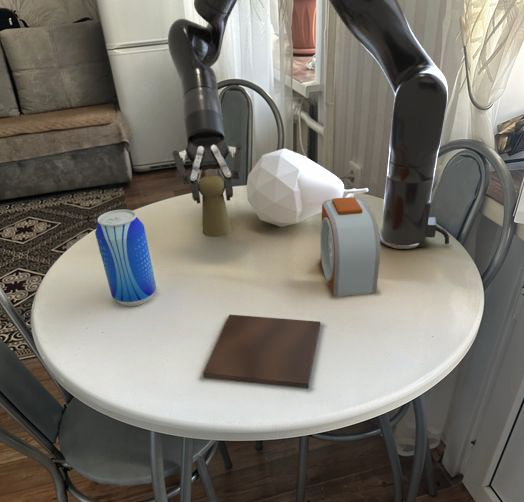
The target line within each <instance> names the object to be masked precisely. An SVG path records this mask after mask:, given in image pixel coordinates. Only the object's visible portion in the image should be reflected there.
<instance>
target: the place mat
mask: <svg viewBox="0 0 524 502" xmlns="http://www.w3.org/2000/svg"><path fill="white" fill-rule="evenodd" d="M320 330H321V321H318V320H306V319H294V318H293V319H292V318H280V317H266V316H252V315H241V314H240V315H239V314H229V315H228V316H227V319H226V321H225V323H224V326H223V327H222V330H221V332H220V334H219V336H218V339H217V341H216V343H215V345H214V348H213V350H212V351H211V355H210V357H209V358H208V361H207V364H206V366H205V368H204V370H203V372H202V374H203V378H205V379H214V380H224V381H231V382H232V381H233V382H242V383H243V382H244V383H253V384H263V385H273V386H280V387H281V386H282V387H283V386H284V387H290V388H291V387H292V388H300V389H301V388H302V389H309V388H310V383H311V376H312V370H313V367H314V366H313V365H314V361H315V356H316V350H317V346H318V339H319V335H320Z"/></svg>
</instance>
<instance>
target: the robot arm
mask: <svg viewBox="0 0 524 502" xmlns="http://www.w3.org/2000/svg"><path fill="white" fill-rule="evenodd" d="M237 1H238V0H193V7H194V9H195V11H196V12H197V14H198V15H199V17H201V19H203V20H204V21H205V22H207V25H206V26H204V25H202V24H199V23H196V22H194V21H191V20H189V19H186V18H178V19H176V20H174V22H172V23H171V25H170V27H169V29H168V34H167V47H168V51H169V55H170V57H171V60H172V63H173V65H174V67H175V70H176V72H177V75H178V77H179V79H180V82H181V89H182V97H183V117H184V119H183V120H184V126H185V134H186V142H187V143H186V144H187V146H186V148H185V150H181V151H178V150H173V151H172V157H173V162H174V163H175V166H176V169H177V173H178V175H179V178H180V181H181V183H182V184H183V185H190V189H191V196H192V197H191V198H192V200H193V202H196V205H197V204H198V205H199V204H201V196H200V195H201V193H200V191H199V187H198V184H199V181H200V177H201V174H202V172H203V171H207V170H218V172H219V173H220V175H221V176H222V179H223V180H224V182H225V191H224V193H225V199H226V200H225V201H229V202H230V201H231V198H233V197H234V188H233V187H234V186H233V181H234V180H239V179H240V177H241V169H242V157H243V146H242V144H237V145H236V146H230V145H229V144H228V142H227V140H226V135H225V126H224V119H223V118H224V116H223V111H222V104H221V101H220V96H219V88H218V81H217V77H216V76H217V75H216V72H215V70H214V69H213V68H212V66H214V65H215V64H216V63H217V62H218V60H219V57H220V55H221V50H222V46H223V40H224V36H225V33H226V32H225V31H226V29H227V25H228V21H229V17H230V16H231V14H232V11H233V9H234V8H235V6H236V4H237ZM328 1H329V3H330V4H331V6H332V8H333V9H334V11H335V12H336V14H337V16H338V17H339V19H340V20H341V21H342V23H343V24H344V26H345V27H346V28H347V29H348V31H349V32H350V33H351V35H352V36H353V37H354V38H355V39H356V40H357V41H358V42H359V43H360V44H361V45H362V47H364V49H366V51H367V52H368V53H370V55H371V56H372V57H373V58H374V60H375V61H376V62H377V63H378V65H379V66H380V68H381V70H382V71H383V73H384V75H385V77H386V78H387V81H388V83H389V85H390V87H391V89H392V91H393V94H394V101H393V108H392V118H391V127H390V136H389V137H390V138H389V154H388V163H387V171H386V181H385V188H384V189H385V190H384V199H383V207H382V208H383V209H382V218H381V224H380V225H381V226H380V232H379V235H380V243H381V244H383V245H384V246H387V247H389V248H393V249H399V250H410V249H411V250H412V249H415V248H424V247H425V242H426V238H433V239H434V238H435V237H436V232H438V233H440V234H442V235H443V237H444V244H445V245H448V244H450V236H449V233H448V232H447V231H446V230H445V229H443V228H441V227H439V226H438V225H437V218H436V217H434V216H430V212H431V207H432V202H431V197H432V191H433V185H434V179H435V175H436V174H435V172H436V167H437V161H438V155H439V151H440V147H441V143H442V142H441V141H442V135H443V129H444V124H445V118H446V112H447V106H448V99H449V98H448V97H449V91H448V88H449V87H448V83H447V79H446V77H445V76H444V74H443V72H442V71H441V70H440V69H439V68H438V67H437V65H436V64H435V63H434V61H433V60H432V59H431V57H430V56H429V55H428V53H426V51H425V49H424V48H423V47H422V45H421V44H420V43H419V41H418V40H417V38H416V37H415V35H414V33H413V32H412V29H411V28H410V25H409V22H408V21H407V18H406V16H405V13H404V11H403V9H402V7H401V5H400V2H399V0H328ZM229 154H230V155H231V158H232V159H233V160H234V164H233V165H234V166H233V169H232V170H230V169H229V167H228V165H227V163H226V158H227V157H228V156H229ZM187 158H188V159H189V160H190V162H192V163H193V164H192V170H191V173H190V174H187V171H186V168H185V166H184V164H186V159H187Z"/></svg>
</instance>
